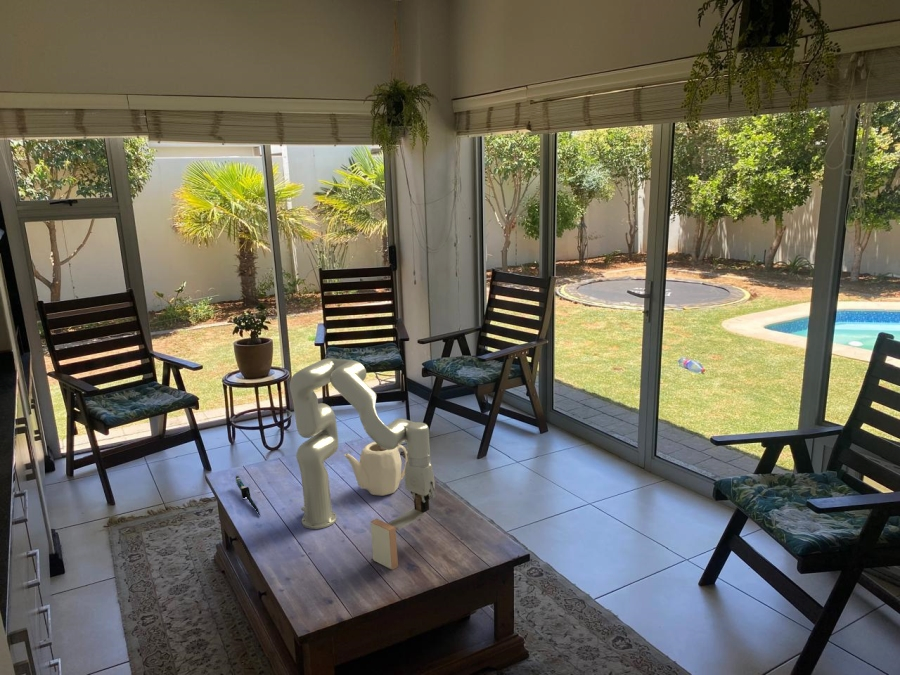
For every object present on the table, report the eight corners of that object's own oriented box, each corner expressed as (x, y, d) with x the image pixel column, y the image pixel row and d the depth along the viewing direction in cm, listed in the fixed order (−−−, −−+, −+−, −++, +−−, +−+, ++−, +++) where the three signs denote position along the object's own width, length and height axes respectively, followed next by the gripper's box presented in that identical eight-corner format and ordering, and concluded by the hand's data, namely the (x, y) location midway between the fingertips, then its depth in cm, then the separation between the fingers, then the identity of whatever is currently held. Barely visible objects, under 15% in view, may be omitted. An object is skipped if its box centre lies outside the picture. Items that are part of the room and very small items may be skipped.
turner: (387, 525, 220) (386, 508, 219) (421, 506, 232) (420, 490, 230) (398, 530, 217) (397, 513, 216) (432, 510, 229) (431, 494, 227)
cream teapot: (341, 491, 270) (337, 447, 265) (402, 475, 281) (399, 433, 277) (354, 507, 256) (351, 461, 252) (418, 490, 268) (415, 445, 264)
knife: (235, 485, 276) (234, 475, 275) (243, 483, 278) (242, 473, 276) (254, 523, 251) (252, 513, 250) (262, 521, 253) (261, 511, 251)
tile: (372, 560, 220) (369, 521, 217) (379, 556, 222) (376, 518, 219) (391, 570, 214) (388, 530, 211) (398, 566, 216) (395, 527, 213)
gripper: (394, 457, 227) (397, 507, 231) (428, 469, 216) (431, 521, 220) (409, 450, 232) (412, 499, 236) (444, 461, 222) (446, 512, 226)
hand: (421, 509), depth 228 cm, fingers closed on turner, 2 cm apart
